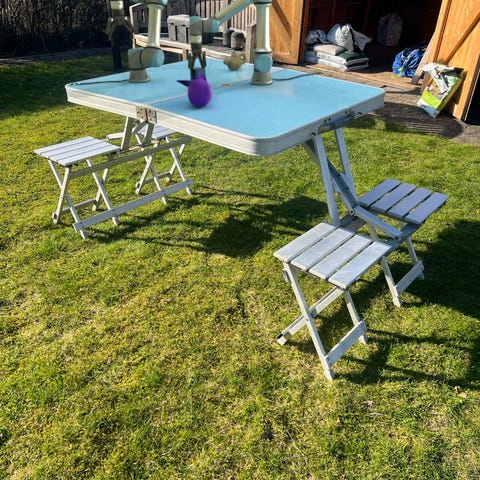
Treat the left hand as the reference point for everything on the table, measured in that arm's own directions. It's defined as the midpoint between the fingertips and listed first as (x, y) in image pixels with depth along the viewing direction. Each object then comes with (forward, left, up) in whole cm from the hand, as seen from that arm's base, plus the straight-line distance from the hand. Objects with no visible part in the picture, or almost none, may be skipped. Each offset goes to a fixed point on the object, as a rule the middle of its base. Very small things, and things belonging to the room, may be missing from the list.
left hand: (122, 45), depth 292 cm
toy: (+36, -52, -30) cm, 70 cm away
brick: (+47, -8, -25) cm, 54 cm away
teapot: (+91, +50, -30) cm, 108 cm away
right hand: (+47, -8, -23) cm, 53 cm away
